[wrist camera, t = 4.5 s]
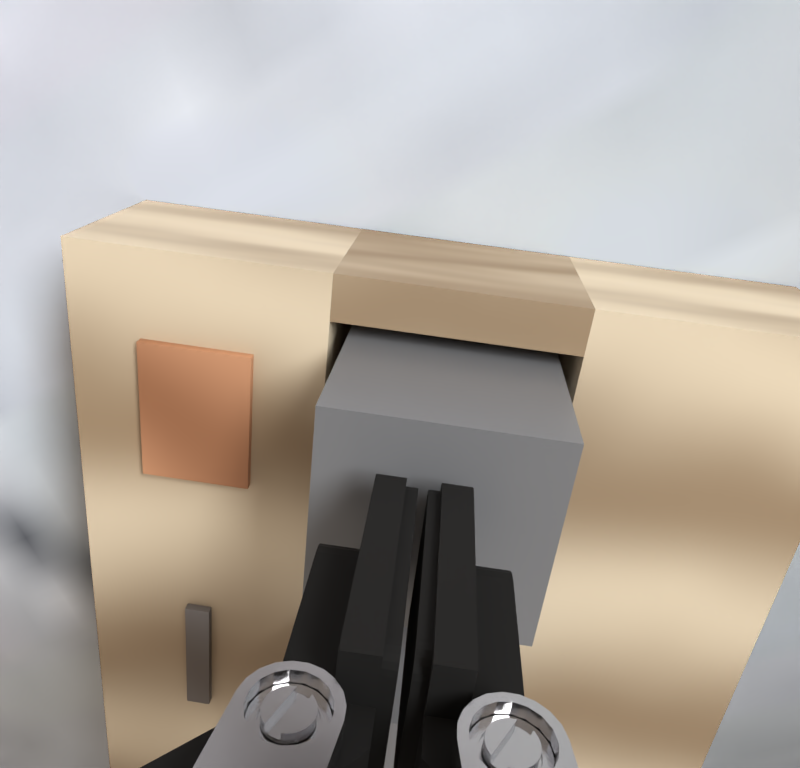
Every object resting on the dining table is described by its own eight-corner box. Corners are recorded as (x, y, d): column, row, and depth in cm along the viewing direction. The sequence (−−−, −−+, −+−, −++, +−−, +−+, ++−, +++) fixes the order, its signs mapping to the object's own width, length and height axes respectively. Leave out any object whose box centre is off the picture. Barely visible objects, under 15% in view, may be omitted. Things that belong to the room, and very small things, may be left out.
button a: (353, 323, 15) (315, 405, 12) (556, 351, 15) (584, 444, 11) (337, 493, 17) (301, 610, 13) (519, 521, 17) (531, 646, 13)
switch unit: (145, 200, 18) (55, 238, 14) (795, 286, 17) (889, 352, 13) (168, 768, 26) (117, 886, 23) (594, 837, 26) (616, 971, 22)
